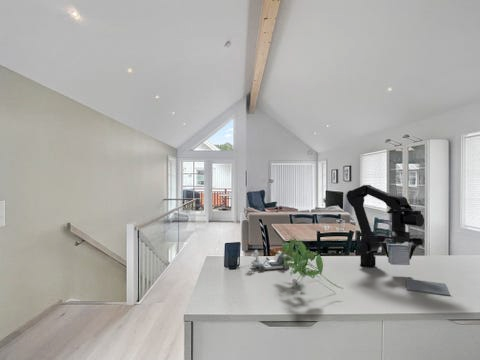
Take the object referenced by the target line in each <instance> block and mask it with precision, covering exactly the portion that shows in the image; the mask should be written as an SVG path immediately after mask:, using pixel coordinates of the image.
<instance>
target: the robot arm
mask: <svg viewBox="0 0 480 360" xmlns="http://www.w3.org/2000/svg"><path fill="white" fill-rule="evenodd" d="M368 195H369V196H371V197H373V198H375V199H377V200H380V201H382V202H383V203H385V205H386V206H388V208H390V209H389V210H388V211H386V213H387V214H390V215H391V216H390V217H391V220H390V221H391V223H390V224H391V225H390V226H391V232H390V235H391V236H387V235H386V234H385V233H384V234H383V233H377V234H374V233H373V232H372V227H371V225H370V222H369V219H368V216H367V213H366V210H365V207H364V203H365V197H367V196H368ZM345 196H346V200H347V201H348V203H349V205H350V206H351V207H352V208H353V211H354V214H355V217H356V220H357V223H358V227H359V229H360V232H361V235H360V236H361V237H360V243H361V244H360V246H358V247H357V248H356V251H357V254H358V255H359V254H360V265H359V266H361V267H365V268H367V267H368V268H375V267H376V265H377V262H376V260H377V258H376V256H375V254H377V253H378V251H379V249H380V247H381V245H382V247H383V250H384V252H385V255H386V257H387V258H388V242H387V241H390V242H392V243H393V244H405V243H410V260H412V257H413V255H414V254H413V253H414V252H415V250H416V248H418V247H420V246H423V244H424V242H423V238H422V237H421V236H415V235H413V236H411V237H410V235H411V234H410V233H411V232H409V231H406V230H407V229H406V228H407V227H406V226H409V227H410V226H411V227H419V228H421V227H423V225H424V224H425V218H424V215H423V214H422V211H421V210H414V209H413V208H412V206H411V205H410V204H409V201H408V199H407V197H405V196H403V195H397V194H392V193H388V192H385V190H381V189H379V188H376V187H374V186H372V185H371V184H363V185H361V186H360V187H357V188H353V189H351V190H348V191H347V193H346V195H345Z"/></svg>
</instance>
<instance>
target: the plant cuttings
mask: <svg viewBox="0 0 480 360" xmlns="http://www.w3.org/2000/svg"><path fill="white" fill-rule="evenodd" d="M294 246H295V247H294ZM294 248H295V249H294ZM281 252H282V253H281V255H280V256H282V255H284V254H285V255H287V256H286V257H285V258H284V260H283V261H286V262H285V263H286V265H287V266H289V268H291V270H290V272H289V273H290V276H291V277H292V276H293V275H296V274H297V273H298V274H299V276H298V278H297V279H292V280H291V283H292V285H293V286H294V288H297V287H299V285H300V283H301V282H302V279H304V278H305V277H307V276H308V277H310V278H312V279H315V277H318V278H319V279H321V277H319V276H318V275H320V276H322V277H323V278H324V279H325V280H326V281H327V282H329V283H330V284H331V285H333V286H335V287H336V288H340V289H342V290H343V289H344V287H341V286H338V285H337V284H335V283H333V282H332V281H331V280H329V279H328V278H326V277H325V276H324V275H323V274H322V272H323V269H324V262H323V258H322V256H321V255H320V253H319V252H314V251H310V249H307V247H306V245H305V243H304V242H303V240H301V241H299V240H297V239H296V238H292V237H291V238H289V242H286V243H283V244H282V245H281ZM317 254H318V255H317ZM309 260H310V262H309ZM313 261H315V264H316V266H314V265H313V264H311V262H313ZM286 265H285V266H286ZM307 266H309V267H310V268H311V269H310V268H309V267H307ZM312 268H313V269H314V270H313V269H312ZM315 281H316V282H318V283H319V284H321V285H323V286H324V287H325V288H327V289H328V290H330V291H331V292H334V293H335V291H334V290H332V289H331V288H329V287H327V286H326V285H324V284H323V283H321V282H320V281H318V280H317V279H315Z"/></svg>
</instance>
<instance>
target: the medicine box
mask: <svg viewBox="0 0 480 360" xmlns="http://www.w3.org/2000/svg"><path fill="white" fill-rule="evenodd" d="M410 248H411V245H408V244H405V243H387V249H388V257H387V262H388V263H389V264H390V265H391V266H392V265H393V266H394V265H395V266H396V265H397V266H398V265H399V266H400V265H402V266H410V265H411V263H410V262H411V261H410Z"/></svg>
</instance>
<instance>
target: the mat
mask: <svg viewBox="0 0 480 360" xmlns="http://www.w3.org/2000/svg"><path fill="white" fill-rule="evenodd" d="M406 290H407V291H409V292H418V293H424V294H433V295H437V296H438V295H439V296H447V297H451V293H450V291H449V289H448V286H447V284H446V283H444V282H443V283H442V282H436V281H435V282H434V281H426V280H420V279H412V278H411V279H410V278H406Z"/></svg>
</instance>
